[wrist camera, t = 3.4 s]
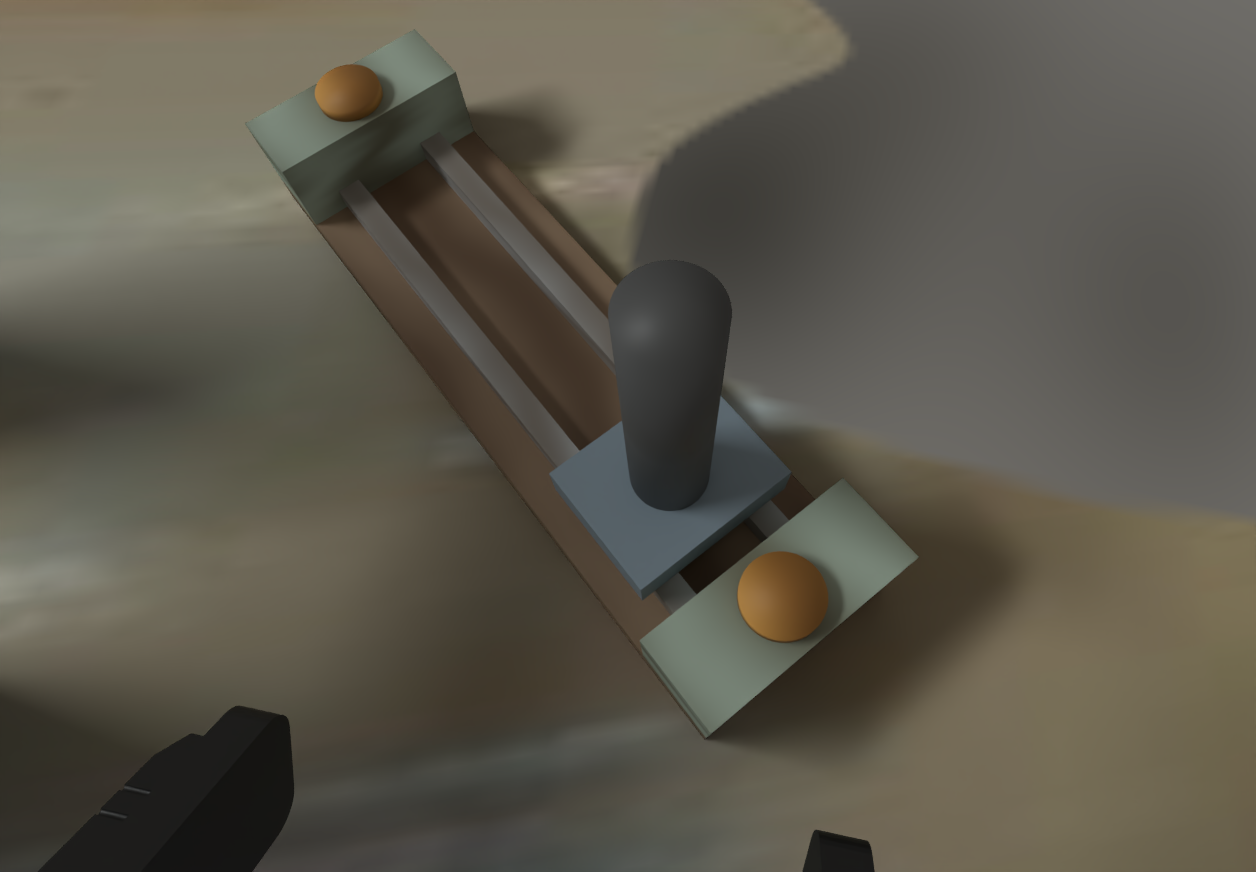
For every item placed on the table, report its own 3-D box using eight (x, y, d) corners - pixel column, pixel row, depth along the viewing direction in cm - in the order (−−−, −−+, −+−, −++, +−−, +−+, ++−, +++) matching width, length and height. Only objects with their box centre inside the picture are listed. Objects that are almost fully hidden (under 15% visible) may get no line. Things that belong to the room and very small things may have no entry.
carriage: (642, 600, 31) (624, 483, 19) (555, 489, 33) (484, 314, 21) (784, 488, 33) (859, 308, 20) (693, 388, 35) (707, 167, 22)
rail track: (704, 739, 32) (711, 732, 26) (293, 197, 44) (238, 114, 39) (881, 588, 34) (923, 553, 28) (442, 110, 46) (411, 19, 41)
